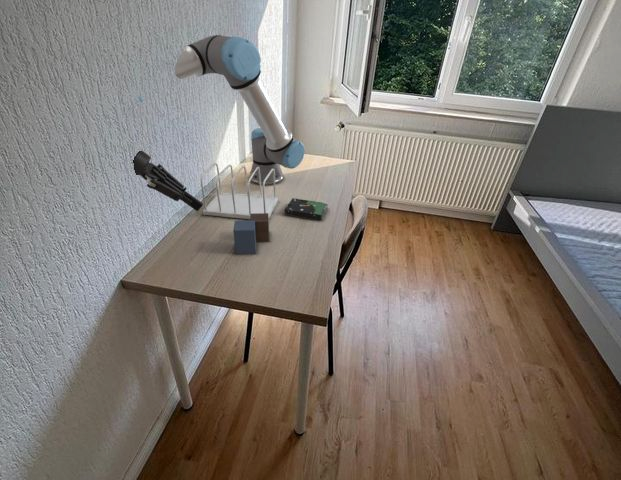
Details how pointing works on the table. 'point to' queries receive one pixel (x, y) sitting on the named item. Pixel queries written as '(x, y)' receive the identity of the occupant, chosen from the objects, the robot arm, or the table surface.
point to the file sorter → (239, 198)
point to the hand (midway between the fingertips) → (200, 207)
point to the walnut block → (261, 226)
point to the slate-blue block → (245, 237)
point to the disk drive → (306, 209)
